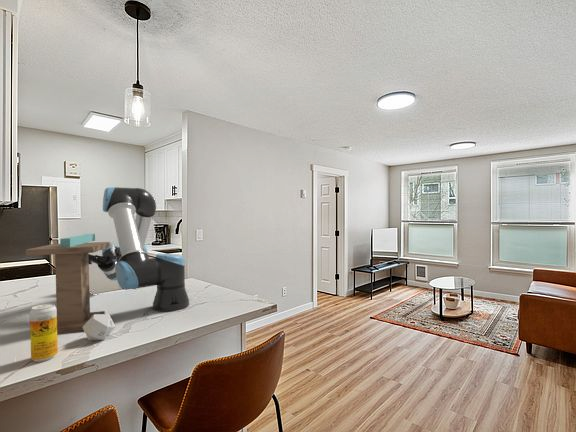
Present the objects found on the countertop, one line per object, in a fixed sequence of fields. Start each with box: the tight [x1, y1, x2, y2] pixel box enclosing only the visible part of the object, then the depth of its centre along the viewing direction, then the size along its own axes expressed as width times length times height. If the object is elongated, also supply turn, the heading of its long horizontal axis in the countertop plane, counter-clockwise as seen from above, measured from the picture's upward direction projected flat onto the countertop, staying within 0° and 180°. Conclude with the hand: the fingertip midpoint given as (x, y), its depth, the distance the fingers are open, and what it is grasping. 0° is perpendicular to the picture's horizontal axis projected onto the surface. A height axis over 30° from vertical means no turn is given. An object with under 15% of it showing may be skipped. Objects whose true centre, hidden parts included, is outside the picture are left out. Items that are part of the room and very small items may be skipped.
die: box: [82, 313, 116, 341], centre depth 103 cm, size 8×9×10 cm
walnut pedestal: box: [25, 241, 111, 335], centre depth 116 cm, size 20×20×30 cm
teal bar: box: [59, 233, 96, 247], centre depth 122 cm, size 26×3×3 cm, turn 15°
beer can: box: [29, 303, 59, 363], centre depth 90 cm, size 6×6×15 cm
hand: (94, 248), depth 139 cm, fingers open, 13 cm apart
